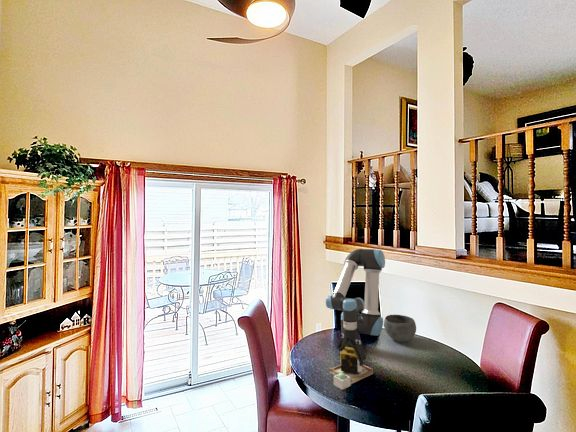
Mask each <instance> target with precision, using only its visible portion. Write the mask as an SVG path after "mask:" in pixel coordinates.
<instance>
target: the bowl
mask: <svg viewBox="0 0 576 432" xmlns="http://www.w3.org/2000/svg"><path fill="white" fill-rule="evenodd" d="M383 327H384V330H385V332H386V334H387V335H388V337H390V338H391V339H393V340H394V341H395V342H398V343H406V342H407V343H408V342H409V341H411V340H412V339H413V338H414V337H415V336H416V333H417V324H416V322H415V319H414V318H413V317H410V316H407V315H402V314H388V315H386V316H385V318H384V319H383Z"/></svg>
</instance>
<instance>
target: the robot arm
mask: <svg viewBox="0 0 576 432" xmlns="http://www.w3.org/2000/svg"><path fill="white" fill-rule="evenodd" d="M385 266H386V259H385V254H384V252H383V251H382V250H381V249H376V248H375V249H374V248H373V249H371V248H356V249H355V250H353V251H351V252H350V253H349V254H348V255H347V256H346V258H345V260H344V261H343V268H342V270H341V273H340V276H339V278H338V280H337V283H336V286H335V288H334V290H333V292H332V295H328V296H326V298H325V306H326V308H327V309H330V310H337V311H342V312H341V314H340V326H341V327H340V328H341V329H340V331H341V333H340V334H339V338H338V342H337V344H336V349H338V351H339V352H338V354H339V359H340V360H339V361H340V362H339V363H340V364H341V356H340V353H341V352H342V350H343V349H344V348H345V347H351V348H354V351H355V353H356V355H357V357H358V372H361V371H362V366H363V365H364V361H365V360H366V359H367V357H366V353H365V351H364V348H363V342H362V340H361V336H360V334H365V335H370V336H379V335H380V334H381V333H382V330H383V327H384V318H383V317H382V316H381V313H380V311H379V289H380V287H379V286H380V273H381V272H382V271H383V269H384V268H385ZM359 267H363V271H365V279H364V280H365V284H364V299H363V298H361V297H355V298H351V297H350V298H349V297H346V295H347V292H348V290H349V288H350V285H351V283H352V280H353V277H354V274H355V272H356V271H357V270H358V268H359ZM360 312H361V313H360ZM360 357H361V358H360Z"/></svg>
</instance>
